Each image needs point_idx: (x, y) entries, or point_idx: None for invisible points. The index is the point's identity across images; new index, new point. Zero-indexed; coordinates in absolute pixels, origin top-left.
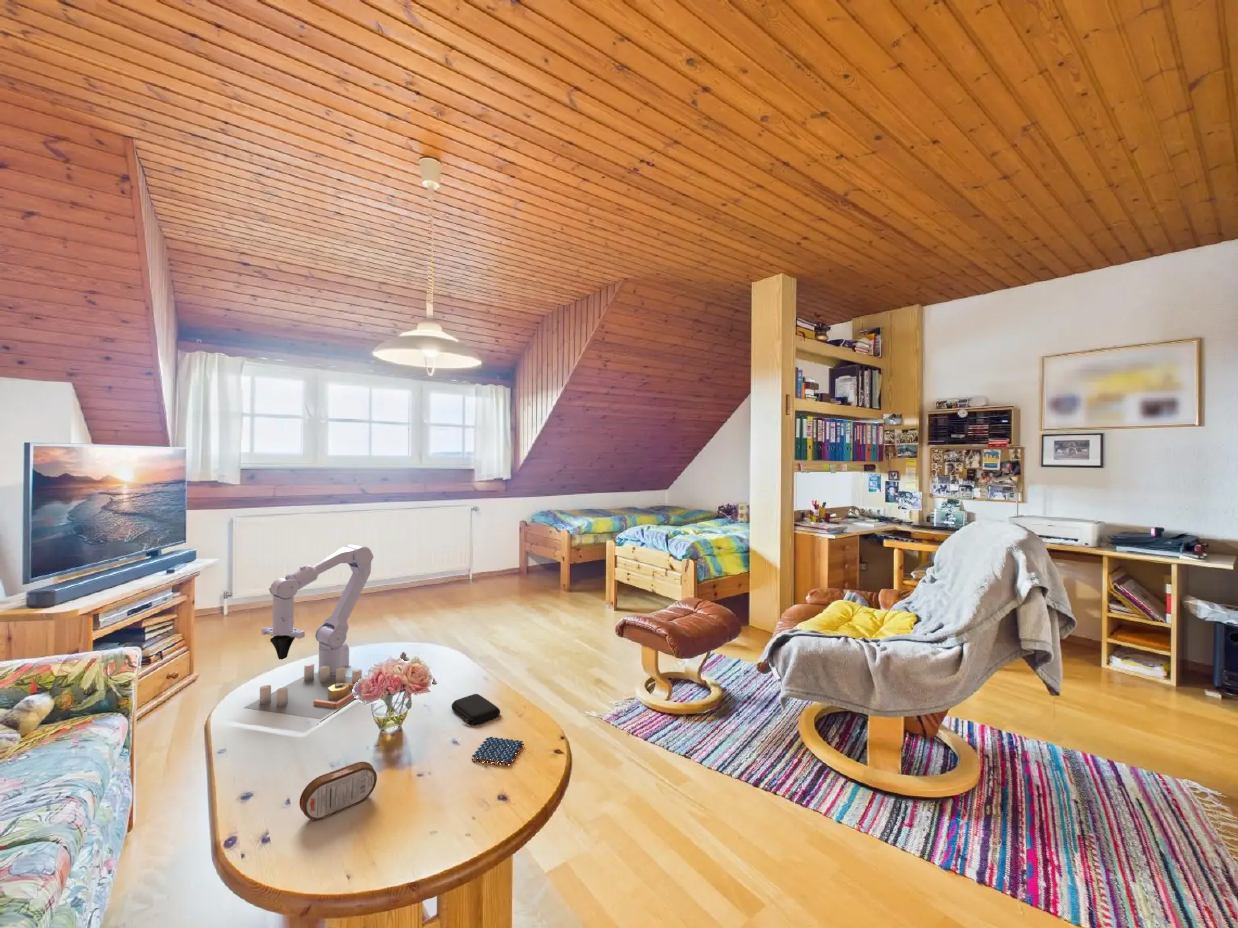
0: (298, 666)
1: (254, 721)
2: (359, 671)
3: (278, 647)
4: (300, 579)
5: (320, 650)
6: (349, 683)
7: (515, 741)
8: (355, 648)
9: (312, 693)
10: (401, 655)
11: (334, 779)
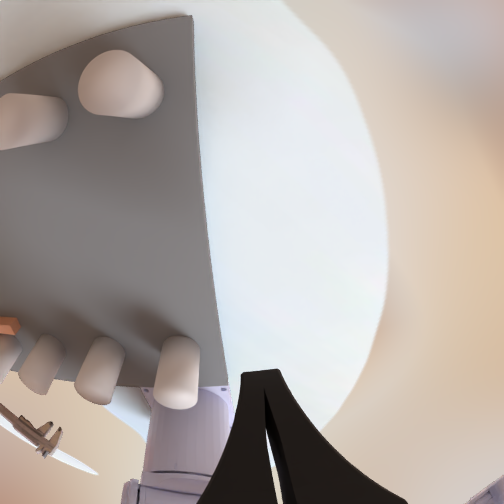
0: (331, 393)
1: (75, 4)
2: None
3: (285, 462)
4: None
5: (193, 468)
6: (2, 332)
7: None
8: None
9: (39, 250)
10: (45, 450)
11: None
